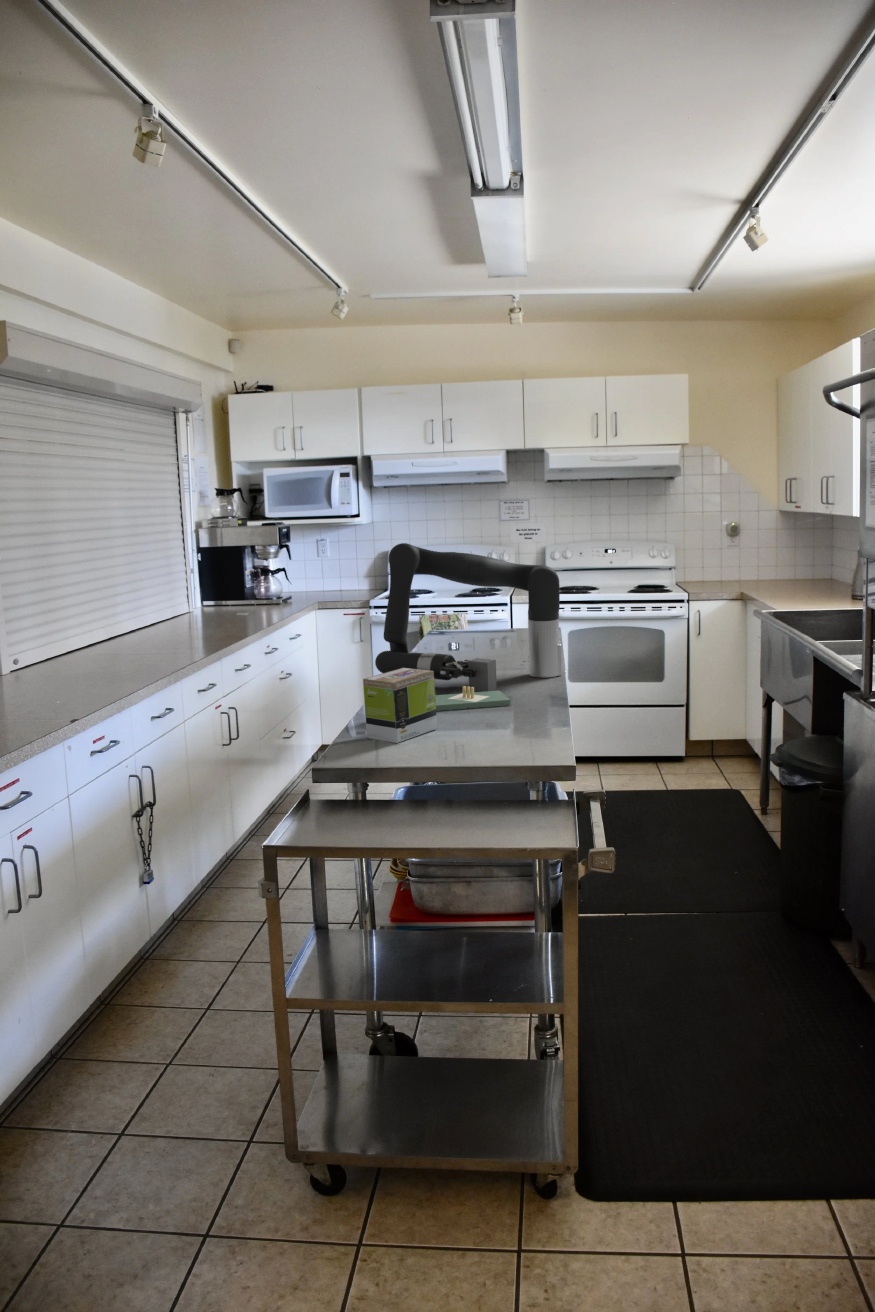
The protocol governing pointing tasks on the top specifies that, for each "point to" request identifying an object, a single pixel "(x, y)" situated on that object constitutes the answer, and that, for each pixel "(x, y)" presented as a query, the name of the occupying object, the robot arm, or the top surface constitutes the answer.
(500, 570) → the robot arm
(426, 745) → the top surface
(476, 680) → the dark grey rectangular block
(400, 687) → the tea box
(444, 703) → the board
